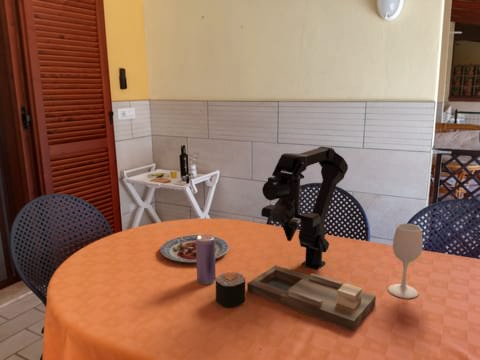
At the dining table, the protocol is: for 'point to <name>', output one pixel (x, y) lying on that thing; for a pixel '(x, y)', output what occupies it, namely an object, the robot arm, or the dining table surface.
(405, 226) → the wineglass
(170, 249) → the ceramic plate
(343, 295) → the block
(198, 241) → the beverage can
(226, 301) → the sushi
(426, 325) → the dining table surface
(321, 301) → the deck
